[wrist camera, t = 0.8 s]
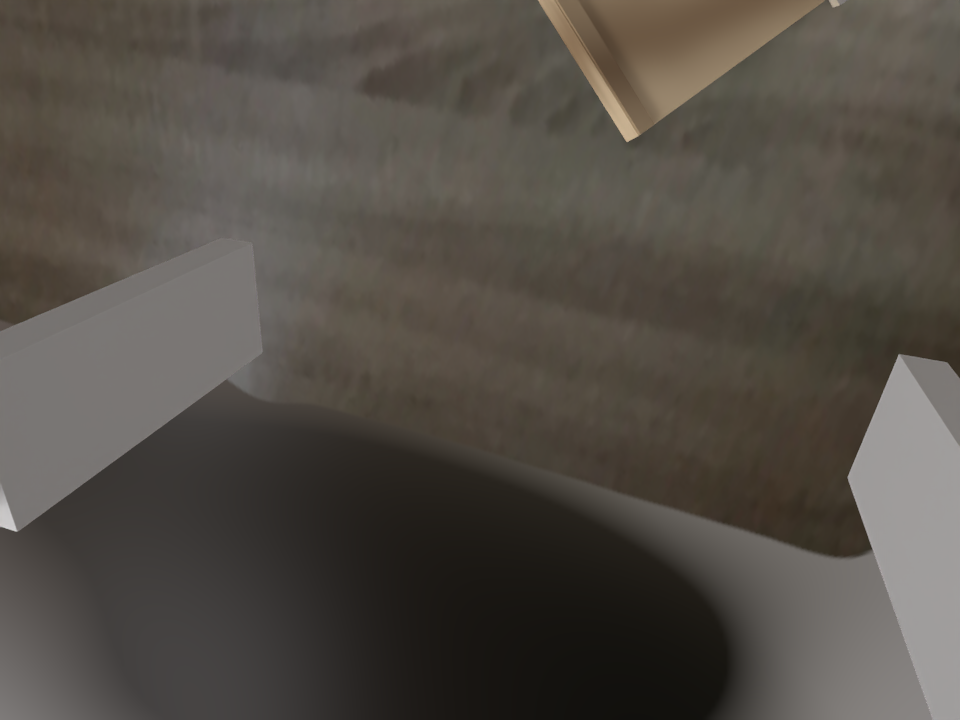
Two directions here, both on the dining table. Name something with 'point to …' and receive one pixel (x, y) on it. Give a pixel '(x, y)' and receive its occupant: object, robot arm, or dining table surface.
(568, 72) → the dining table surface
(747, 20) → the plank
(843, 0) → the laid board
